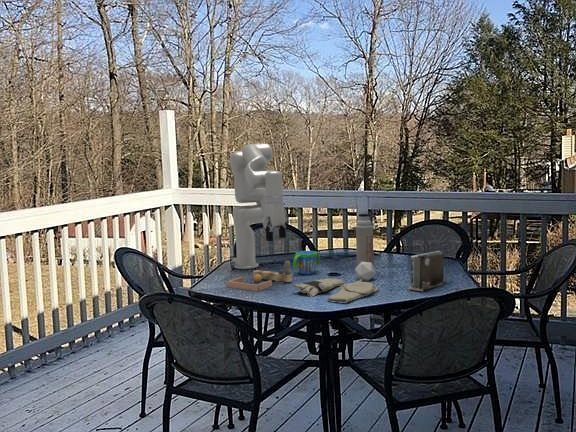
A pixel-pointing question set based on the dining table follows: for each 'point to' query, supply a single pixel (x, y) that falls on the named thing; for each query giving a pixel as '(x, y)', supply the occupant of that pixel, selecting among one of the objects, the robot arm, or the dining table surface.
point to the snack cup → (306, 261)
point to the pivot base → (280, 281)
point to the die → (365, 271)
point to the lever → (276, 274)
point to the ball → (257, 277)
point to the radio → (427, 271)
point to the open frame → (240, 285)
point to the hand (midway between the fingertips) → (276, 239)
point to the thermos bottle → (364, 240)
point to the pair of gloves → (346, 290)
